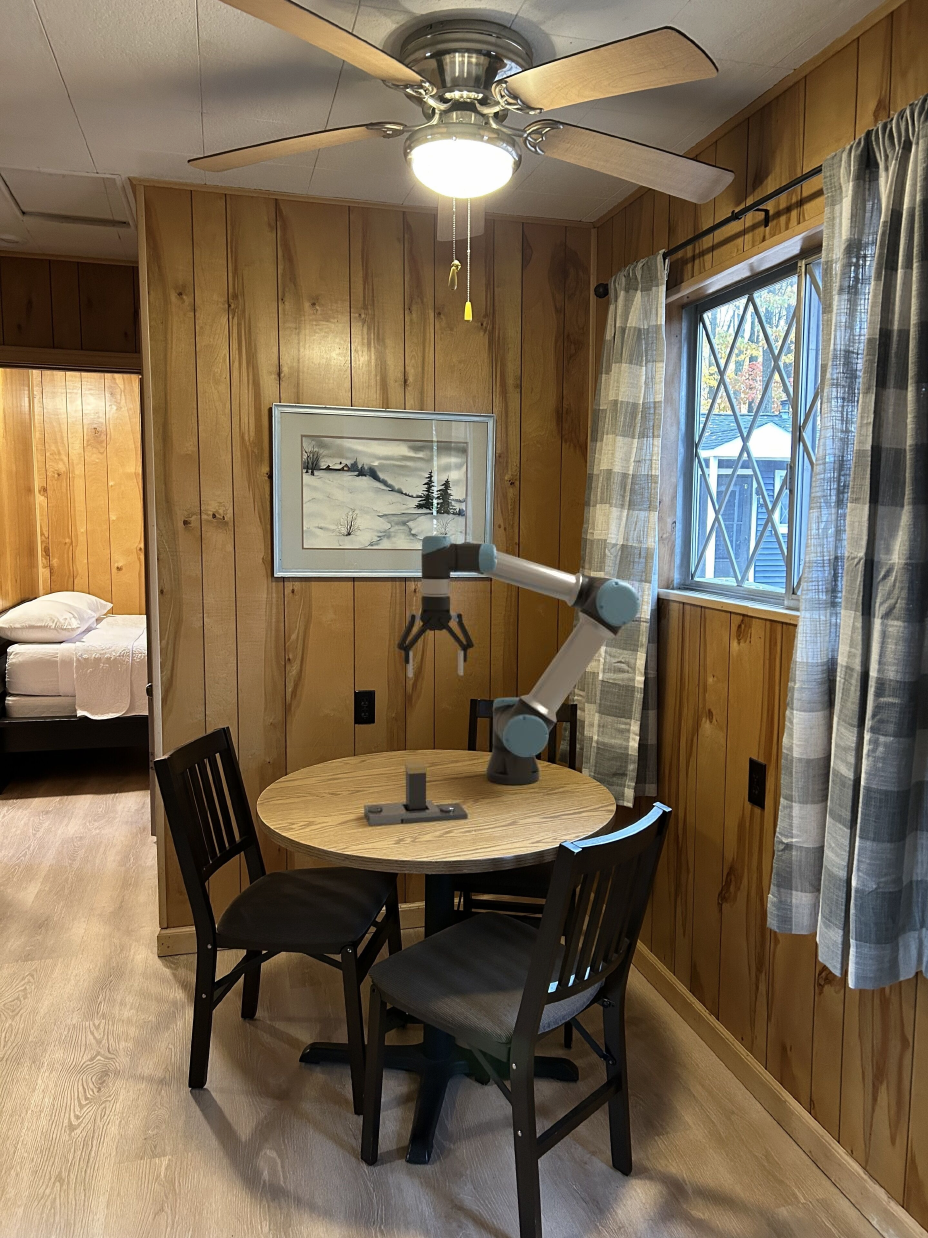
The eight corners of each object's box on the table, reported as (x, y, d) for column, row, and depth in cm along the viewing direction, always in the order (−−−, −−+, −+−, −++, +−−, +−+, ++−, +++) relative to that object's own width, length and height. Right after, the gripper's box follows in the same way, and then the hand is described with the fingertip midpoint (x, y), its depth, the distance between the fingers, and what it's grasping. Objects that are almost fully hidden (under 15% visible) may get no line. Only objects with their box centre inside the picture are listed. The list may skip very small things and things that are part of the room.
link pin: (423, 813, 226) (423, 761, 225) (427, 818, 222) (427, 766, 220) (404, 814, 225) (404, 763, 223) (408, 820, 220) (408, 767, 219)
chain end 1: (431, 809, 229) (431, 798, 228) (439, 820, 220) (439, 808, 220) (364, 814, 224) (364, 802, 224) (369, 826, 216) (369, 814, 215)
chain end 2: (458, 807, 230) (458, 800, 230) (467, 818, 222) (467, 811, 222) (396, 812, 226) (396, 805, 226) (403, 823, 218) (403, 816, 218)
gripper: (478, 593, 244) (477, 671, 246) (386, 594, 238) (386, 674, 240) (485, 595, 237) (485, 676, 239) (391, 596, 230) (391, 679, 233)
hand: (435, 675), depth 239 cm, fingers open, 13 cm apart
